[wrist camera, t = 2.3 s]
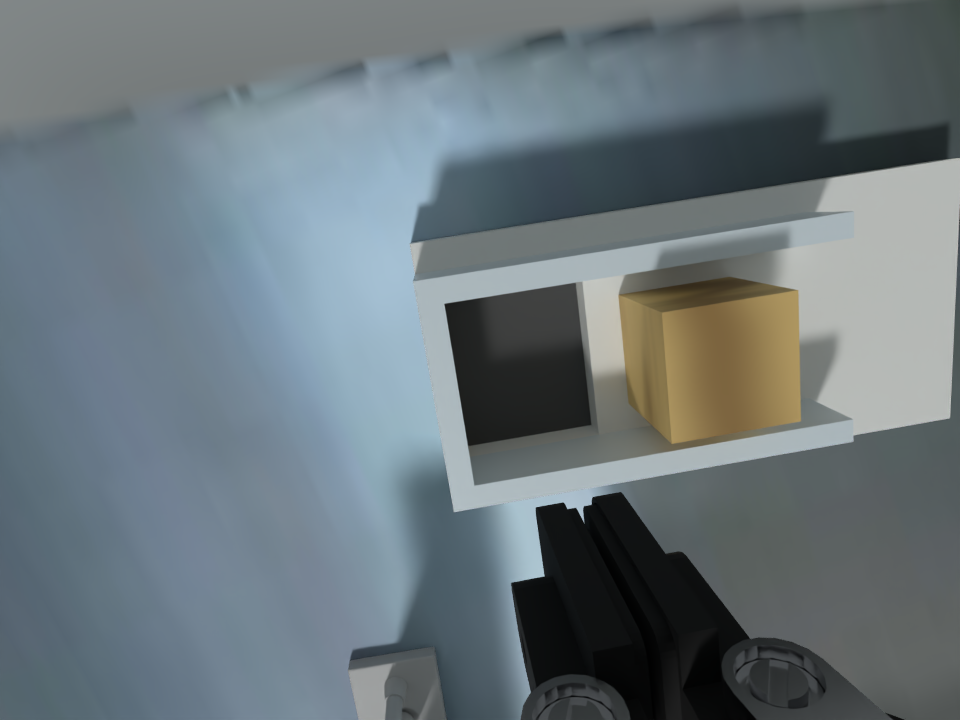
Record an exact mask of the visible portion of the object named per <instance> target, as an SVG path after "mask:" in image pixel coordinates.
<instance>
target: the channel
mask: <svg viewBox="0 0 960 720" xmlns="http://www.w3.org/2000/svg"><path fill="white" fill-rule="evenodd" d="M959 208H960V158H954V159H945V160H936V161H929V162H923V163H916V164H910V165H904V166H897V167H891V168H884V169H878V170H872V171H865V172H859V173H852V174H846V175H840V176H833V177H827V178H820V179H814V180H808V181H801V182H795V183H788V184H782V185H776V186H769V187H763V188H756V189H750V190H744V191H737V192H731V193H724V194H718V195H712V196H705V197H699V198H692V199H686V200H680V201H673V202H667V203H660V204H654V205H648V206H641V207H635V208H628V209H622V210H616V211H609V212H603V213H596V214H590V215H584V216H577V217H571V218H564V219H558V220H552V221H545V222H539V223H532V224H526V225H520V226H513V227H507V228H500V229H494V230H488V231H481V232H475V233H468V234H462V235H456V236H449V237H443V238H436V239H430V240H424V241H417V242H411V243H410V248H411V254H412V260H413V265H414V271H415V276H414V280H413V284H414V289H415V295H416V301H417V306H418V312H419V318H420V323H421V329H422V335H423V340H424V346H425V352H426V357H427V363H428V368H429V374H430V380H431V385H432V391H433V397H434V402H435V408H436V414H437V419H438V425H439V431H440V436H441V442H442V448H443V453H444V459H445V464H446V470H447V476H448V481H449V487H450V493H451V498H452V504H453V510H454V512H458V511H464V510H470V509H475V508H481V507H487V506H492V505H498V504H504V503H509V502H515V501H521V500H526V499H532V498H538V497H543V496H549V495H554V494H560V493H566V492H571V491H577V490H583V489H588V488H594V487H600V486H605V485H611V484H617V483H622V482H628V481H634V480H639V479H645V478H651V477H656V476H662V475H668V474H673V473H679V472H684V471H690V470H696V469H701V468H707V467H713V466H718V465H724V464H730V463H735V462H741V461H747V460H752V459H758V458H764V457H769V456H775V455H781V454H786V453H792V452H797V451H803V450H809V449H814V448H820V447H826V446H831V445H837V444H843V443H848V442H853V435H858V434H863V433H869V432H875V431H880V430H886V429H892V428H897V427H903V426H909V425H914V424H920V423H926V422H931V421H937V420H943V419H948V418H950V406H951V384H952V362H953V340H954V318H955V296H956V274H957V252H958V230H959ZM725 277H734V278H739V279H744V280H749V281H754V282H760V283H765V284H770V285H775V286H780V287H785V288H790V289H795V290H798V294H799V346H800V397H801V421H800V422H795V423H789V424H783V425H777V426H772V427H766V428H760V429H755V430H749V431H743V432H737V433H732V434H726V435H720V436H715V437H709V438H703V439H697V440H692V441H686V442H680V443H674V444H671V443H670V442H669V441H668V440H667V439H666V438H665V437H664V436H663V435H662V434H661V433H660V432H659V431H657V430H656V429H655V428H654V427H653V426H652V425H651V424H650V423H649V422H648V421H647V420H646V419H645V418H644V417H642V416H641V415H640V414H639V413H638V412H637V411H636V410H635V409H634V408H633V407H632V406H631V405H630V404H629V403H628V393H627V383H626V372H625V361H624V350H623V340H622V329H621V318H620V308H619V297H618V295H620V294H626V293H632V292H639V291H645V290H651V289H657V288H663V287H669V286H676V285H682V284H688V283H694V282H700V281H706V280H712V279H719V278H725Z"/></svg>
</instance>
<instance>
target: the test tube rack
mask: <svg viewBox="0 0 960 720" xmlns="http://www.w3.org/2000/svg"><path fill="white" fill-rule="evenodd" d="M348 673H349V677H350V682H351V687H352V691H353V696H354V700H355V705H356V710H357V714H358V719H359V720H447V717H446V711H445V706H444V700H443V694H442V688H441V682H440V676H439V670H438V664H437V659H436V653H435V648H434V647H427V648H420V649H415V650H409V651H403V652H397V653H391V654H385V655H379V656H373V657H367V658H361V659H355V660H350V663H349V668H348Z"/></svg>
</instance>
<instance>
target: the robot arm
mask: <svg viewBox="0 0 960 720" xmlns="http://www.w3.org/2000/svg"><path fill="white" fill-rule="evenodd" d="M583 512H584V522H585V524H584V522H583V520H582V518H581V516H580V514H579V512H578V510H577V509H576V508H572V509H567V508H566V505H565V504H564V503H558V504H552V505H547V506H541V507H536V518H537V525H538V532H539V539H540V546H541V554H542V561H543V568H544V575H545V577H540V578H534V579H529V580H524V581H518V582H513V583H511V586H512V594H513V600H514V607H515V613H516V619H517V625H518V631H519V637H520V642H521V648H522V653H523V658H524V663H525V668H526V672H527V677H528V681H529V686H530V690H531V693H530V695H529V697H528V698H527V700H526V702H525V704H524V705H523V710H522V715H521V720H904V719H901V718H898V717H896V716H893V715H890V714H887V713H884V712H883V711H882V710H881V709H880V708H879V707H878V706H876V705H875V704H874V703H873V702H872V701H871V700H870V699H868V698H867V697H866V696H865V695H864V694H863V693H862V692H860V691H859V690H858V689H857V688H856V687H855V686H854V685H852V684H851V683H850V682H849V681H848V680H847V679H845V678H844V677H843V676H842V675H841V674H840V673H839V672H837V671H836V670H835V669H834V668H833V667H832V666H831V665H829V664H828V663H827V662H826V661H825V660H824V659H822V658H821V657H820V656H818V655H817V654H815V653H814V652H812V651H811V650H809V649H807V648H805V647H803V646H800V645H798V644H796V643H794V642H790V641H786V640H782V639H777V638H760V637H758V638H753V639H750V638H749V637H748V635H747V634H746V633H745V631H744V630H743V629H742V628H741V626H740V625H739V624H738V622H737V621H736V620H735V618H734V617H733V616H732V615H731V613H730V612H729V611H728V609H727V608H726V607H725V606H724V604H723V603H722V602H721V600H720V599H719V598H718V596H717V595H716V594H715V593H714V591H713V590H712V589H711V587H710V586H709V585H708V583H707V582H706V581H705V580H704V578H703V577H702V576H701V574H700V573H699V572H698V570H697V569H696V568H695V567H694V565H693V564H692V563H691V561H690V560H689V559H688V558H687V556H686V555H685V554H684V553H683V552H673V553H668V554H665V552H664V551H663V550H662V548H661V547H660V545H659V544H658V543H657V541H656V540H655V538H654V537H653V536H652V534H651V533H650V531H649V530H648V529H647V527H646V526H645V524H644V523H643V522H642V520H641V519H640V517H639V516H638V515H637V513H636V512H635V510H634V509H633V508H632V506H631V505H630V503H629V502H628V501H627V499H626V498H625V496H624V495H623V494H622V493H621V492H619V493H613V494H608V495H602V496H596V497H593V498H592V505H589V506H584V508H583Z"/></svg>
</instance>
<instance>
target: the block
mask: <svg viewBox="0 0 960 720" xmlns="http://www.w3.org/2000/svg"><path fill="white" fill-rule="evenodd" d="M618 297H619V308H620V318H621V329H622V340H623V350H624V361H625V372H626V383H627V393H628V403H629V404H630V405H631V406H632V407H633V408H634V409H635V410H636V411H637V412H638V413H639V414H640V415H641V416H642V417H644V418H645V419H646V420H647V421H648V422H649V423H650V424H651V425H652V426H653V427H654V428H655V429H656V430H657V431H659V432H660V433H661V434H662V435H663V436H664V437H665V438H666V439H667V440H668V441H669V442H670V443H671V444H674V443H680V442H686V441H692V440H697V439H703V438H709V437H715V436H720V435H726V434H732V433H737V432H743V431H749V430H755V429H760V428H766V427H772V426H777V425H783V424H789V423H795V422H800V421H801V397H800V346H799V294H798V290H795V289H790V288H785V287H780V286H775V285H770V284H765V283H760V282H754V281H749V280H744V279H739V278H734V277H725V278H719V279H712V280H706V281H700V282H694V283H688V284H682V285H676V286H669V287H663V288H657V289H651V290H645V291H639V292H632V293H626V294H620V295H618Z"/></svg>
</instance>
